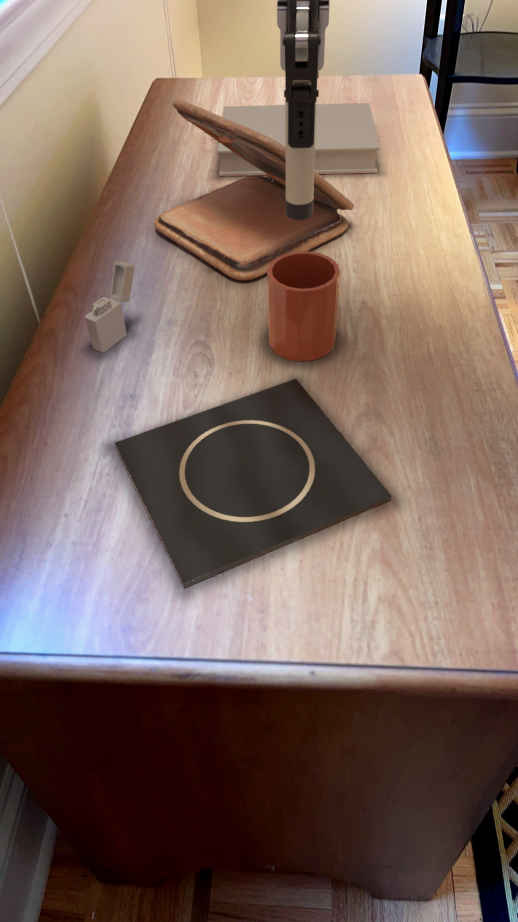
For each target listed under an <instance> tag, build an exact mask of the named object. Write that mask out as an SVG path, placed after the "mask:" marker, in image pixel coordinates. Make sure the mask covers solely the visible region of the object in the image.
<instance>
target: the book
mask: <svg viewBox="0 0 518 922" xmlns="http://www.w3.org/2000/svg"><path fill="white" fill-rule="evenodd" d="M221 117H223V118H226V119H228V120H230V121H233V122H235V123H238V124H241V125H243V126H245V127H247V128H250V129H252V130H254V131H256V132H259V133H261V134H263V135H265V136H268V137H270V138H272V139H274V140H276V141H277V142H279V143H280V144H282V145H283V146H285V147H286V137H285V104H271V105H270V104H269V105H234V106H233V105H231V106H230V105H229V106H227V105H226V106H223V110H222V116H221ZM377 151H380V144H379V139H378V135H377V131H376V126H375V120H374V117H373V113H372V108H371V103H369V102H358V103H357V102H356V103H355V102H354V103H316V129H315V164H314V171H315V172H316V173H318V174H319V175H332V174H334V175H335V174H338V175H341V174H342V175H343V174H345V175H346V174H377V173H378V166H377V162H376V159H377V158H376V157H377ZM219 154H220V163H219V172H218V176H219V177H236V176H239V177H240V176H241V177H242V176H246V177H247V176H268V175H267V174H266V173H265V172H263V171H261V170H260V169H258V168H256V167H255V166H253V165H251V164H250V163H248V162H247V161H246V160H244V159H243V158H241V157H240V156H238V155H237V154H235V153H234V152H232V151H231V150H230V149H228V148H227V147H225V146H224V145H222V144H221V143H219V142H218V144H217V155H219Z"/></svg>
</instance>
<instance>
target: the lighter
mask: <svg viewBox="0 0 518 922" xmlns="http://www.w3.org/2000/svg"><path fill="white" fill-rule="evenodd" d="M134 272H135V265H134V264H132V263H130V262H127V261H124V260H122V261H119V260H117V261H115V262H114V263H113V270H112V276H111V277H112V279H111V286H110V293H109V298H108V297H106V296H102V297H101V298H99V299H98V300H96V301H95V302H93V303H92V310H91V311H90V312H88V313H87V314H86V315H84V319H85V323H86V327H87V331H88V335H89V338H90V343H91V346H92V349H93V350H95V351H97V352H99V353H101V354H104V353H106V352H107V351H108V350H110V349H111V348H112V347H114V346H115V345H116V344H118V343H119V342H120V341H121V340H123V339H124V338H125V337H126V336H127V335H128V332H127V328H126V324H125V318H124V313H123V309H122V304H121V303H127V302H131V301H130V300H131V294H132V293H131V292H132V287H133V279H134Z"/></svg>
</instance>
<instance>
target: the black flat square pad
mask: <svg viewBox="0 0 518 922" xmlns="http://www.w3.org/2000/svg"><path fill="white" fill-rule="evenodd" d="M114 447H115V449H116V450H117V454H119V458H120V459H121V461H122V463H123V465H124V467H125V470H126V471H127V474H128V475H129V478H130V480H131V482H132V484H133V486H134V488H135V490H136V492H137V494H138V496H139V498H140V500H141V503H142V504H143V506H144V508H145V511H146V513H147V515H148V517H149V518H150V521H151V523H152V525H153V527H154V529H155V531H156V534H157V535H158V537H159V539H160V541H161V543H162V546H163V548H164V550H165V552H166V554H167V556H168V558H169V560H170V562H171V564H172V566H173V568H174V570H175V572H176V574H177V576H178V579H179V580H180V582H181V585H182V587H183V589H186V588H188V587H190V586H193V585H195V584H197V583H199V582H203V581H204V580H207V579H209V578H211V577H214V576H216V575H218V574H221V573H223V572H226V571H228V570H230V569H232V568H233V569H234V567H237V566H240V565H243V564H244V563H247V562H249V561H252V560H254V559H256V558H258V557H260V556H261V557H262V556H263V555H265V554H268V553H270V552H272V551H274V550H277V549H280V548H282V547H284V546H286V545H289V544H292V543H294V542H296V541H298V540H301V539H303V538H306V537H308V536H309V535H312V534H315V533H317V532H319V531H321V530H324V529H326V528H329V527H331V526H334V525H335V524H338V523H340V522H343V521H345V520H348V519H350V518H352V517H354V516H357V515H359V514H361V513H364V512H366V511H368V510H371V509H374V508H376V507H378V506H381V505H383V504H385V503H388V502H390V501H391V500H392V494H391V493H390V492H389V490H388V489H387V488H386V487H385V486H384V485H383V484H382V482H381V481H380V480H379V479H378V477H377V475H375V474H374V472H373V471H372V469H370V468H369V466H368V465H367V464H366V462H365V461H364V460H363V459H362V458H361V456H360V455H359V454H358V453H357V451H356V450H355V449H354V448H353V447H352V445H351V444H350V443H349V441H347V439H346V438H345V437H344V435H343V434H342V433H341V432H340V430H339V429H338V428H337V427H336V425H334V423H333V422H332V420H331V419H329V417H328V416H327V414H325V412H324V410H322V409H321V407H320V406H319V404H317V402H316V401H315V400H314V399H313V398H312V396H311V395H310V394H309V392H308V391H307V390H306V389H305V388H304V386H303V385H302V384H301V383H300V382H299V380H298V379H297V378H294V379H290V380H288V381H286V382H282V383H279V384H277V385H274V386H271V387H268V388H266V389H265V388H264V389H261V390H259V391H257V392H254V393H251V394H248V395H246V396H242V397H239V398H238V399H234V400H231V401H229V402H226V403H223V404H220V405H217V406H214V407H212V408H209V409H206V410H203V411H200V412H197V413H194V414H192V415H189V416H186V417H183V418H180V419H177V420H175V421H172V422H168V423H166V424H163V425H161V426H157V427H155V428H152V429H149V430H146V431H144V432H143V431H142V432H141V433H138V434H135V435H132V436H129V437H127V438H124V439H121V440H118V441H116V442H114Z"/></svg>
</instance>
